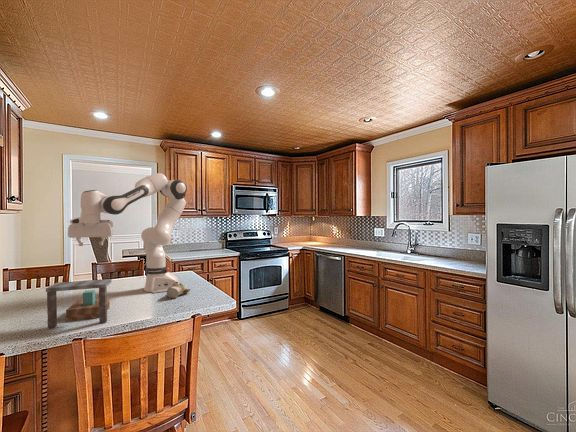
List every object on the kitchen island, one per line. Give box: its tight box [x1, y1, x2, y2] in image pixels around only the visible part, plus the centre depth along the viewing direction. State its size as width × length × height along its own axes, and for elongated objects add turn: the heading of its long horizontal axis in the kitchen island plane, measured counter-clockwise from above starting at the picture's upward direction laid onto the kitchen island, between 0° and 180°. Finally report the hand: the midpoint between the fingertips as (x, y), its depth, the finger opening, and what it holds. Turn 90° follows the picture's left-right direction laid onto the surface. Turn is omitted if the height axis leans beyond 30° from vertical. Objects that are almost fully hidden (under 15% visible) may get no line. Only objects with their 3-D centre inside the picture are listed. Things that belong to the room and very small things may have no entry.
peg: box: [82, 289, 96, 306], centre depth 141 cm, size 4×4×11 cm
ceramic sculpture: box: [166, 282, 191, 299], centre depth 170 cm, size 11×9×15 cm
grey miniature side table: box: [45, 278, 112, 329], centre depth 137 cm, size 22×22×18 cm
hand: (91, 245), depth 157 cm, fingers open, 8 cm apart
